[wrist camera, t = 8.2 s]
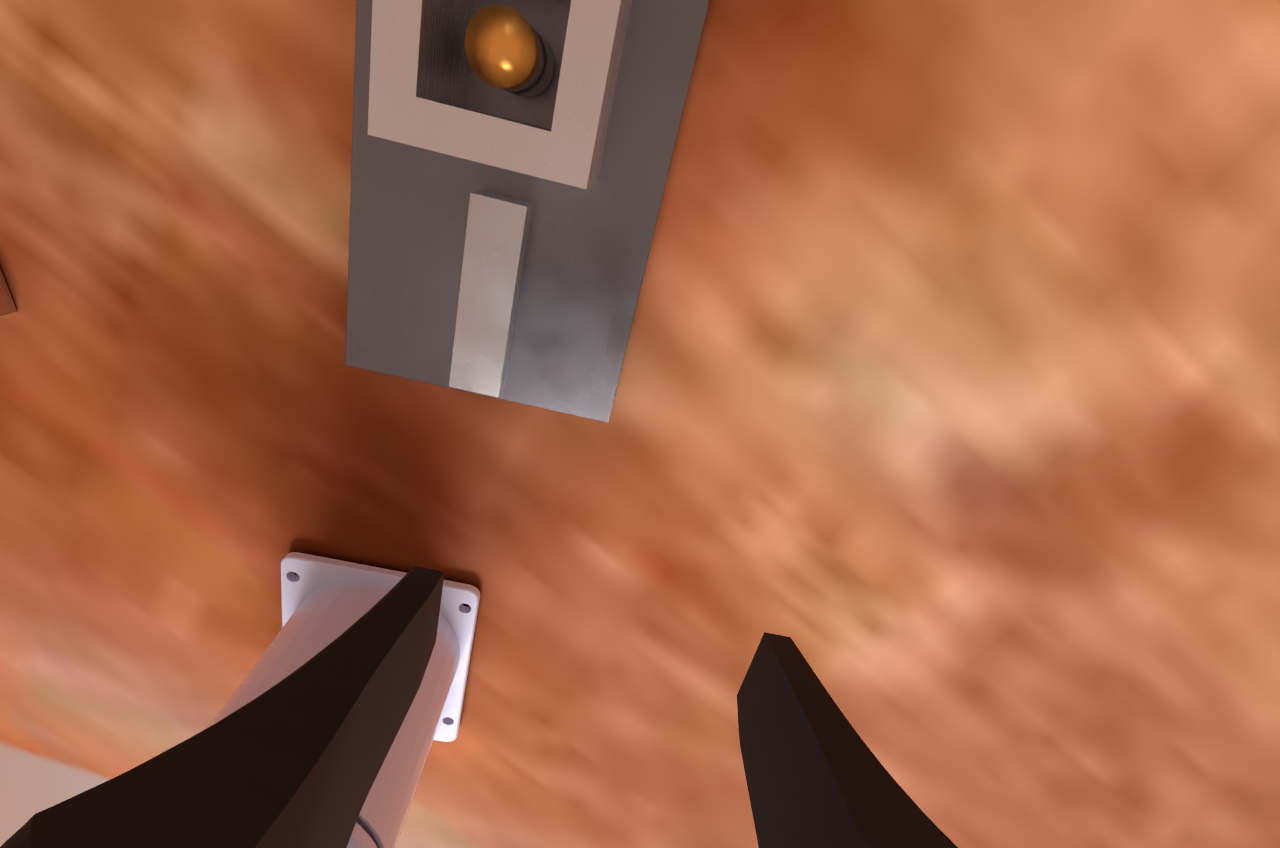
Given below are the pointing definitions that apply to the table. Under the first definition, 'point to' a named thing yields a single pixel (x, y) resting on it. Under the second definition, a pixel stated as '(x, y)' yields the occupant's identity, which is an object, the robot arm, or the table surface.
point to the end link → (439, 121)
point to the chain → (5, 298)
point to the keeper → (515, 219)
